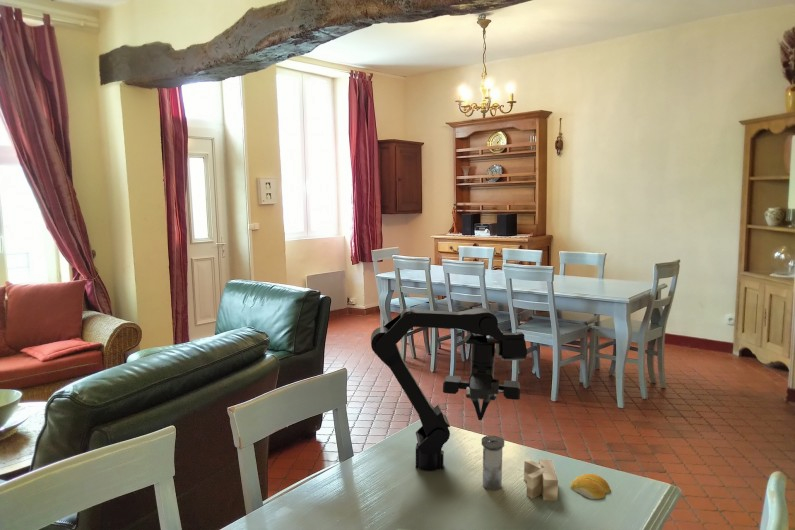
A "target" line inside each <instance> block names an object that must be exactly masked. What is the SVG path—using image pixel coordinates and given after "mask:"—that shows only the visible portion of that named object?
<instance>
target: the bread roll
mask: <svg viewBox="0 0 795 530" xmlns="http://www.w3.org/2000/svg"><path fill="white" fill-rule="evenodd" d="M569 489H571V490H573V492H575V493H578V494H580V495H581V496H582V497H585V498H588V499H590V500H591V499H593V500H594V499H596V500H599V499H602V498H605V497H606V494H609V493H610V492H611V487H610V485H609V483H608V482H607V480H606V479H605V478H603V477H602V476H600V475H598V474H594V473H585V474H581V475H578V476H577V477H576V478H574V479H573V480H572V481H571V482H570V484H569Z"/></svg>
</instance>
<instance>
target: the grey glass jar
mask: <svg viewBox="0 0 795 530" xmlns="http://www.w3.org/2000/svg"><path fill="white" fill-rule="evenodd" d="M481 446H482V447H483V448H482V487H483V488H484V489H487V490H488V491H489V490H490V491H498V490H500V489H501V488H502V485H503V483H502V482H503V448H504V447H505V439H504V438H503V437H500V436H497V435H486V436H483V437H482V438H481Z"/></svg>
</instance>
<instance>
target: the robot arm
mask: <svg viewBox="0 0 795 530" xmlns="http://www.w3.org/2000/svg"><path fill="white" fill-rule="evenodd" d="M498 325H499V323H498V318H497V316H496V315H495V314H494V313H492V311H490V310H489V309H487V308H484V307H479V308H478V307H477V308H471V309H470V308H469V309H465V310H461V311H445V310H444V311H443V310H430V309H429V310H427V309H426V310H425V309H423V310H422V309H412V308H405V309H403V310H402V311H401V313H399V314H397V316H395V317H393V318H392V319H391V320H389V321H388V322H387V323H386V324H385V325H383V326H379V327H376V328H375V329H374V330H373V331H372V333H371V335H370V346H371V349H372V352H373V353H374V354H375V356H377V357H378V358H379V360H381V362H382V363H384V364H385V365H386V366H387V368H389V369H390V371H391V372H392V374H393V375H394V377H395V379H396V380H397V382H398V384H399V385H400V387H401V389H402V390H403V392H404V394H405V395H406V396H407V399H408V401H409V402H410V403H411V405H412V406H413V409H414V410H415V411H416V413H417V415H418V417H419V419H420V422H421V427H419V428H418V429H417V430H416V431H415V436H416V440H417V443H416V445H415V469H419V470H421V471H425V472H434V471H436V470H438V471H439V470H444V466H445V465H444V464H445V461H444V460H445V455H444V453H445V452H444V450H442V449H443V447H444V444H445V443H447V442H448V441H449V439H450V436H451V433H450V432H451V431H450V429H449V428H450V427H451V424H450V423H449V419H448V417H447V415H445V413H443V411H442V409H441V407H440V404H437V405H435V406H434V405H433V404H432V403H430V402H429V399H428V398H427V397H426V395H425V393H424V392H423V390H422V389H421V387H420V385H419V383H418V382H417V379H416V378H415V377H414V375H413V374H412V371H411V370H410V368H409V367H408V365H407V363H406V362H405V360H404V359H403V357H402V355H401V352H400V349H399V346H398V343H399V342H400V341H401V340H402V339H403V338H404V337H405V335H407V333H408V332H409V331H410V330H411V329H412V328H427V329H429V328H430V329H431V328H433V329H448V330H449V329H451V330H462V331H466V332H468V334H467V335H466V336H464V337H463V341H464V342H465V344H467V345H471V349H470V350H471V351H470V352H471V353H470V354H471V355H470V375H469V380H468V381H466V380H465V381H464V380H462V377H461V376H460V375H451V374H449V375H446V376H445V378H444V380H443V384H442V393H444V394H451V395H456V394H457V393H458V392H459V390H465V392H466V394H465V397H466V398H467V399H470V401H471V402H472V404H473V406H474V407H473V408H474V410H475V414H476V417H477V419H478V421H483V417H484V415H485V413H486V411H487V408H488V406H489V405H490V403H491V402H492V401H496V400H497V395H499V393H502V394H503V397H504V398H505V399H506V400H515V401H517V400H521V383H520V382H519V381H518V380H508V379H507V380H506V379H505V380H504V381H503V384H500V379H498V378H495V377H494V376H495V375H494V373H495V356H497V357H499V358H500V360H501V361H525V360H526V359H527V357H528V356H527V355H528V348H527V343H526V340H525V333H523V332H521V331H519V332H518V331H517V332H503V331H502V330H501V329H500V328H499V327H498ZM487 336H489V337H487ZM495 354H496V355H495ZM481 400H482V403H481Z"/></svg>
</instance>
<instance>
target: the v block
mask: <svg viewBox="0 0 795 530" xmlns="http://www.w3.org/2000/svg"><path fill="white" fill-rule="evenodd" d="M523 462H524V463H523V467H524V469H523V481H524V482H526V497H528V498H530V499H534V498H536V497H538V496H542V501H552V502H558V494H559V493H558V492H559V491H558V490H559V489H558V488H559V480H558V476H557V473H556V469H555V464H554V461H553V459H547V458H546V459H543V458H539V459H538V462H536V461H535V460H532V459H529V458H528V459H525V460H524V461H523Z"/></svg>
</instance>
